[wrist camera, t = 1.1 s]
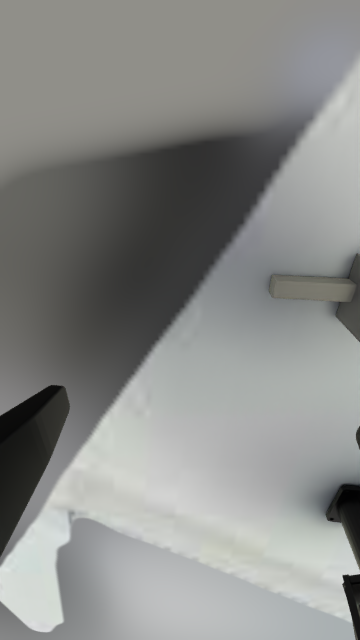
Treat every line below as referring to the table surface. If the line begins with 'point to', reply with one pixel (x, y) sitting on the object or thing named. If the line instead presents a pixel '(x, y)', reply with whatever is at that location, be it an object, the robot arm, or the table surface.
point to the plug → (325, 293)
